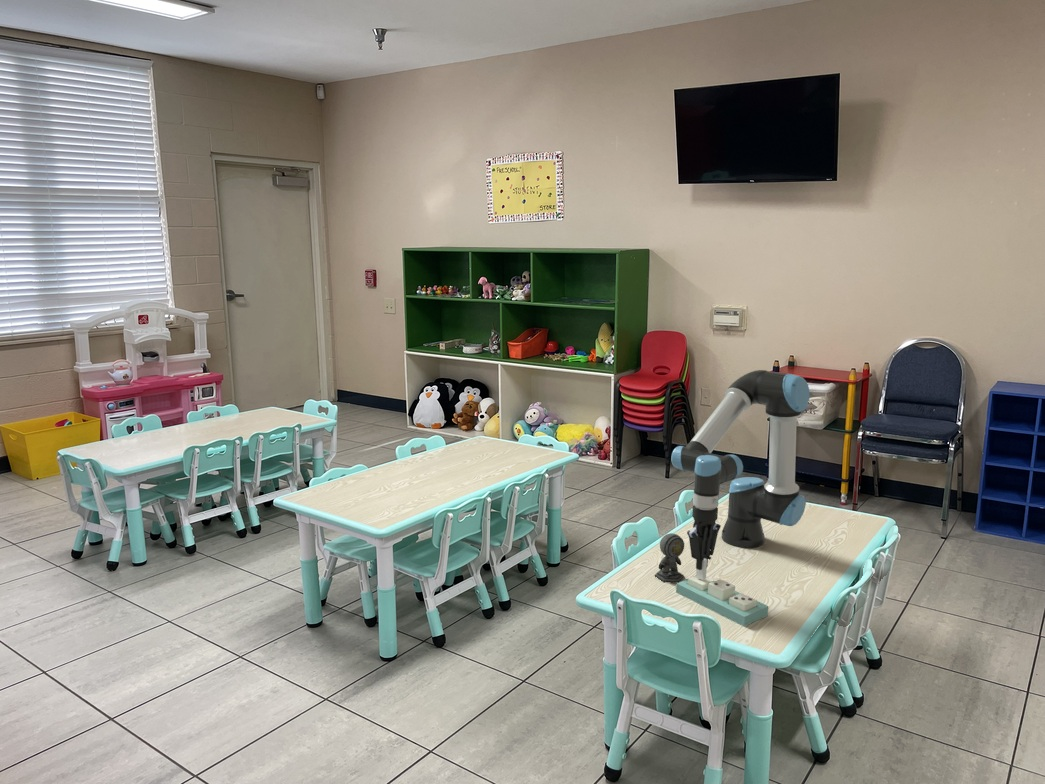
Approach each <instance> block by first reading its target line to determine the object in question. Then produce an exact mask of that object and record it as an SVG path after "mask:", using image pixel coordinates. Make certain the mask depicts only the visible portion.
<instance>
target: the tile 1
mask: <svg viewBox="0 0 1045 784" xmlns="http://www.w3.org/2000/svg"><path fill="white" fill-rule="evenodd" d="M714 581H715V580H714V579H712V578H710V577H708V576H706V579H705V580H701V579H699V578H697V577H696V575H693V576H691V577H688V585H690V586H692V587H694V588H696V589H698V590H700V591H704V590H707V589H708V584H709V583H712V582H714Z"/></svg>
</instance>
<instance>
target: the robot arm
mask: <svg viewBox="0 0 1045 784" xmlns="http://www.w3.org/2000/svg"><path fill="white" fill-rule="evenodd" d="M810 395H811V394H810V387H809V385H808V382H807V380H805V378H804V377H802V376H801V375H797V374H794V373H793V374H792V373H784V372H778V371H771V370H770V371H768V370H764V369H758V370H753V371H752V370H751V371H749V372H748V373H746V374H743V375H742V376H740V377H739V378H737V379H736V380H735V381H733V382H732V383H731V385H729V386H728V388H727V389H726V390H725V393H724V398H723V399H722V400H721V402H720V403H719V404H718V405H717V407H716V408H715V409H714V411H713V412H712V413H711V414H710V416H709V417H708V418H707V420H706V421H705V422H704V423H703V425H701V427H700V428H699V430H698V431H697V432H696V434H695V435H694V436H693V437H692V439H691V440H690V442H688V443H687V445H686V446H685V445H677V446H676V447H675V448H674V449H673V450H672V452H671V458H670V459H671V464H672V466H673V467H674V468H675V469H678V470H681V471H683V472H688V473H692V474H694V479H693V480H694V481H693V482H694V484H693V485H694V487H693V494H692V495H693V496H692V498H693V499H692V514H691V515H692V516H691V517H692V518H693V520H694V522H693V524H692V529H691V530H687V531H686V534H687V536H688V538H689V549H690V554H691V555H690V556H691V558H693V559H695V560H696V561H695V568H696V574H695V576H696V577H697V578H699V579H701V580H705V579H706V577H707V571H708V570H707V569H708V562H709V560H712V556H713V555H714V553H715V547H716V543H717V538H718V534H719V531H720V529H721V527H722V526H721V525H720V524H718V523H716V521H717V520H718V515H719V514H718V513H719V508H718V507H719V498H720V497H719V495H720V485H721V484H724V483H727V482H729V481H731V482H730V485H729V491H728V493H729V494H728V510H727V519H726V521H725V523H724V525H723V529H722V530H721V540H723V541H724V542H725V543H726V544H729V545H732V546H735V547H740V548H757V547H760V546H763V545H764V543H765V539H766V538H765V533H764V530H763V525H762V520H764V521H765V520H766V521H768V522H772V523H775V524H779V525H781V526H787V527H793V526H796V525H797V524H798V523H799V521H800V520H801V518H802V516H803V515H804V512H805V509H806V506H807V500H806V497H805V496H804V495H803V494H800V486H799V485H798V484H797V483H796V457H797V456H796V455H797V453H796V452H797V421H798V420H797V419H798V418H799V417H800V416H801V415H802V412H804V411H805V410H806V409H807V408H808V406H809V401H810ZM755 404H756V405H757V404H758V405H761V406H762V405H763V406H765V414H766V415H767V416H768V417H769V448H768V449H769V455H768V457H769V458H768V481H767V482H766V483H765V481H764V479H762V478H760V477H756V476H755V477H754V476H753V477H751V476H746V477H739V476H741V475H742V473H743V471H744V465H743V461H742V459H741V458H740V457H739V456H737V455H735V454H725V455H719V454H715V453H712V452H713V450H714V449H715V448H716V447H717V446H718V444H719V443H720V442H721V440H722V439H723V438H724V436H725V435H726V434H727V433H728V432H729V430H730V428H731V427H732V426H733V425H734V424H735V422H736V421H737V419H739V417H740V415H741V414H743V412H744V411H746V410H747V411H748V409H750V408H751V406H752V405H755ZM738 477H739V478H738Z"/></svg>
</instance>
